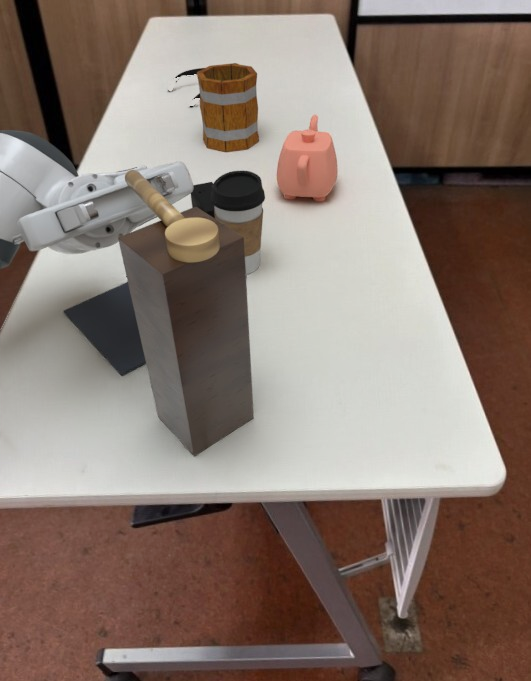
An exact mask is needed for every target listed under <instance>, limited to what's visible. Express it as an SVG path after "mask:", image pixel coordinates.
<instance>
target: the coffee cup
mask: <svg viewBox="0 0 531 681" xmlns="http://www.w3.org/2000/svg"><path fill="white" fill-rule="evenodd" d="M262 182H263V181H262V178H261V177H260V175H258V174H257V173H255V172H253V171H250V170H232V171H229V172H226V173H223V174H222V175H220V176H218V177H217V178H216V179H215V180H214V182H212V183H213V189H212V193H211V203H212V204H213V205H214V208H215V210H214V215H215V219H216V220H218V221H219V222H221V223H222V224H224V225H225V226H227V227H229V228H230V229H232V230H233V231H235V232H236V233H238V234H239V235H241V236H243V237H244V248H245V267H246V275H249V274H252V273H254V272H256V271H257V270H258V269H259V267H260V260H261V247H262V234H263V221H264V208H263V203H264V202H265V200H266V194H265V190H264V187H263V183H262Z"/></svg>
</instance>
